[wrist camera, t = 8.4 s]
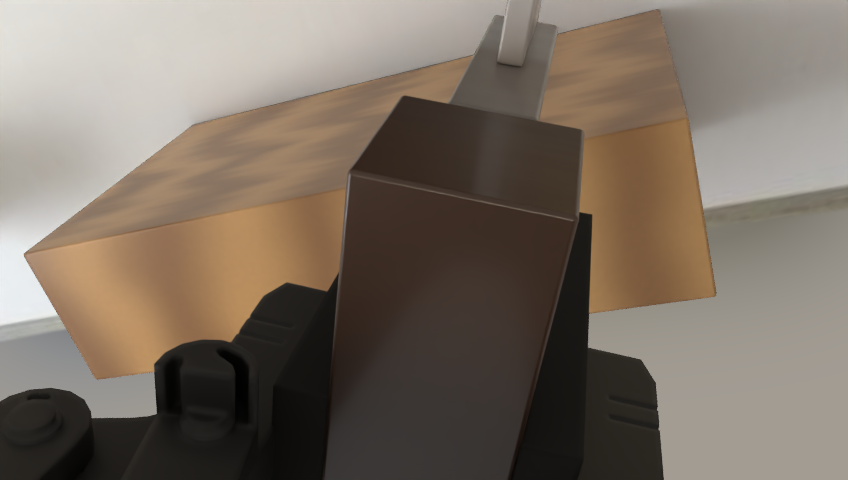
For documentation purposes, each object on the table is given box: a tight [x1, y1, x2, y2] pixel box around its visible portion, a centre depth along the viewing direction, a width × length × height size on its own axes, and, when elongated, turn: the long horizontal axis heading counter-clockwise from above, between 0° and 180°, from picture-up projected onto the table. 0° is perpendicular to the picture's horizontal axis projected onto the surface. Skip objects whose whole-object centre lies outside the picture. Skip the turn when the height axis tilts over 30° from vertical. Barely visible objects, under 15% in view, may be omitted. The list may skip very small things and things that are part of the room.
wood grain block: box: [24, 9, 716, 379], centre depth 33 cm, size 24×6×14 cm, turn 107°
